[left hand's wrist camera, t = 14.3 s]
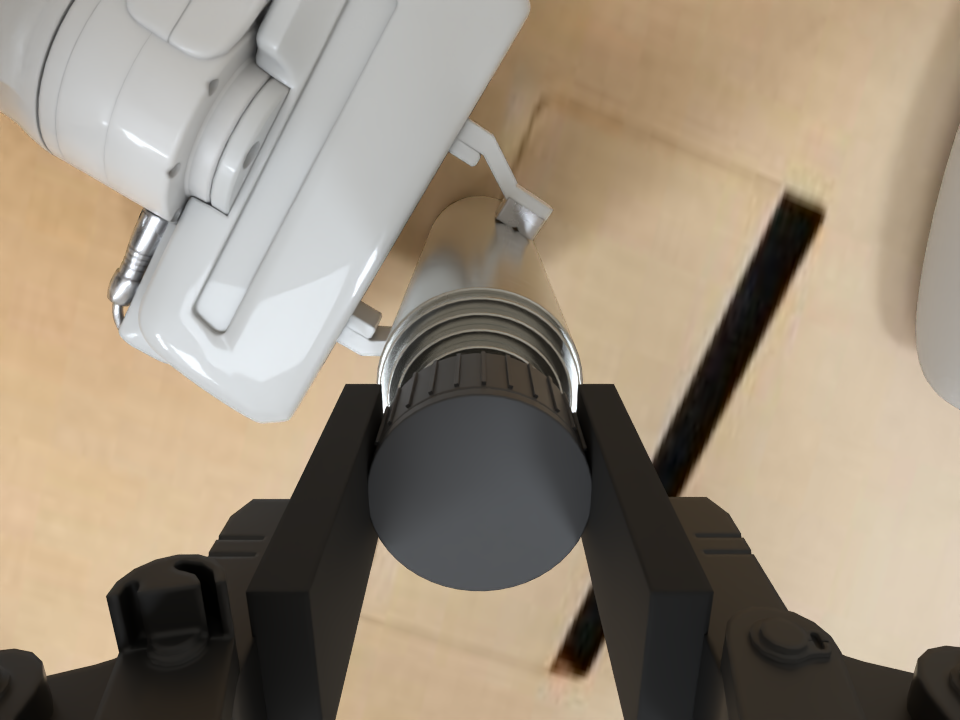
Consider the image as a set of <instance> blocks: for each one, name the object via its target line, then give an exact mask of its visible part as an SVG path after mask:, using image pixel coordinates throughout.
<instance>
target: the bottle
mask: <svg viewBox="0 0 960 720" xmlns="http://www.w3.org/2000/svg"><path fill="white" fill-rule="evenodd" d="M501 202H502V201H501V200H499V199H496V198H493V197H487V196H472V197H467V198H463V199H461V200H458V201H456V202H454V203H453V204H451V205H449V206H448V207H447V208H446V209H444V210H443V211H442V212H441V213H440V215H439V216H438V217H437V219H436V220H435V222H434V224H433V225H432V228H431V230H430V233H429V235H428V238H427V240H426V243H425V245H424V248H423V250H422V253H421V255H420V258H419V260H418V263H417V265H416V268H415V270H414V273H413V275H412V278H411V280H410V283H409V285H408V288H407V291H406V293H405V296H404V298H403V301H402V303H401V306H400V308H399V311H398V313H397V316H396V318H395V321H394V323H393V326H392V328H391V331H390V333H389V336H388V338H387V341H386V343H385V346H384V348H383V351H382V354H381V356H380V361H379V365H378V372H377V384H382V399H383V414H384V411H385V408H386V406H390V404H391V402H392V401H393V399H394V397H395V394H396V391H397V389H398V388H399V387H400V388H402V387H403V386H404V384H406V383H407V382H408V381H409V380H410V379H411V378H412V376H413V373H414V372H417V373H419V372H420V371H421V370H423V369H424V368H426V367H428V366H430V365H432V364H433V362H434V361H435V360H438V361H441V360H443V359H446V358H449V357H454V356H457V353H461V355H463V354H472V353H481V351H485V353H488V354H496V355H502V356H506V354H507V355H510V358H514V359H516V360H519V361H521V362H524V363H526V364H528V363H531V364H532V366H533V368H535V369H537V370H538V371H540V372H541V373H542V374H544V375H545V376H546V377H548V376H550V377H551V378H552V382H553V383H554V384H555V385H556V386H557V387H558V389H559V390H560V391H561V393H564V392H565V393H566V395H567V398H568V401H569V405H570V407H571V410H572V412H576V409H577V390H578V384H583V377H582V367H581V363H580V358H579V355H578V352H577V350H576V347H575V344H574V342H573V339H572V337H571V334H570V332H569V329H568V327H567V324H566V322H565V319H564V317H563V314H562V312H561V309H560V307H559V304H558V302H557V299H556V297H555V294H554V292H553V289H552V287H551V284H550V282H549V279H548V277H547V274H546V272H545V269H544V267H543V264H542V262H541V259H540V257H539V254H538V252H537V249H536V247H535V244H534V242H533V241H532V240H529V239H528V238H526V237H525V236H523V235H522V234H521V233H520V232H519V230H518V228H517V227H510V226H508V225H506V224H504V223H503V222H501V221H499V220H498V219H496V214H495V212H496V210H497V208H498V207H499V205H500V203H501Z"/></svg>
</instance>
